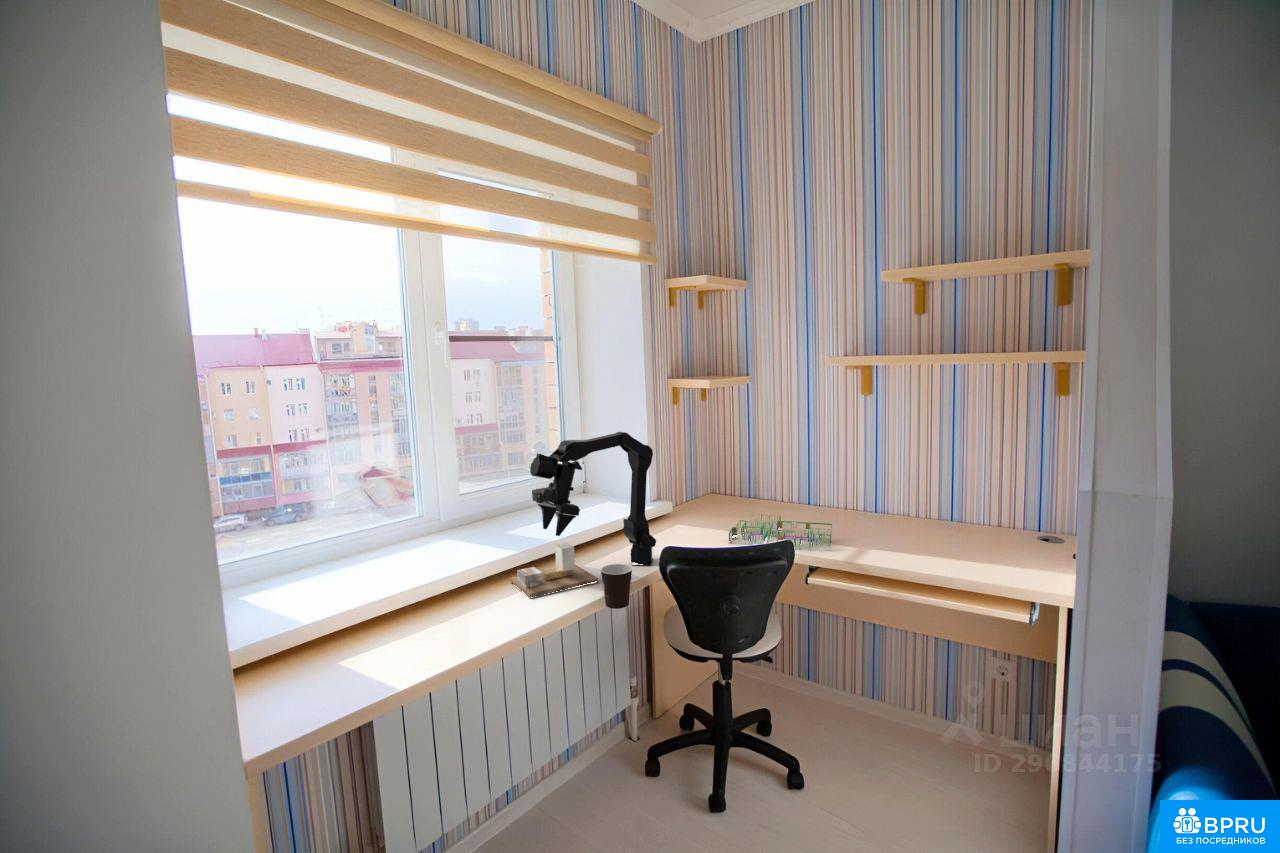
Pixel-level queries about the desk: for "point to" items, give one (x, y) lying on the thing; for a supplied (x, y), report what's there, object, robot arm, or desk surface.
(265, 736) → the desk surface
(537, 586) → the lock plate
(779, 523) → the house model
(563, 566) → the white boxy piece
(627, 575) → the coffee mug
